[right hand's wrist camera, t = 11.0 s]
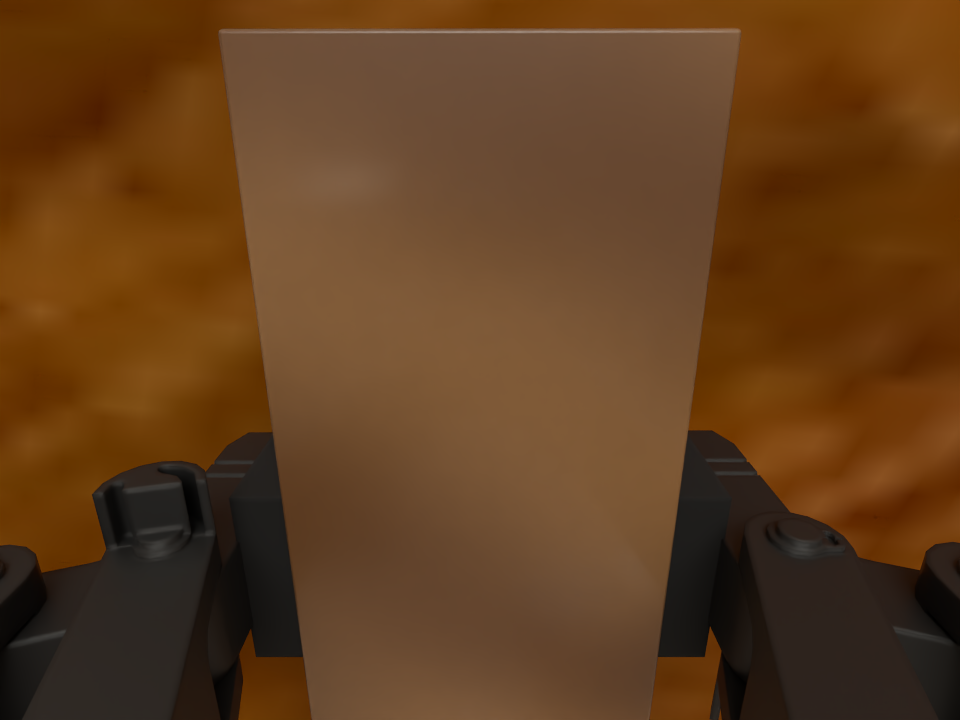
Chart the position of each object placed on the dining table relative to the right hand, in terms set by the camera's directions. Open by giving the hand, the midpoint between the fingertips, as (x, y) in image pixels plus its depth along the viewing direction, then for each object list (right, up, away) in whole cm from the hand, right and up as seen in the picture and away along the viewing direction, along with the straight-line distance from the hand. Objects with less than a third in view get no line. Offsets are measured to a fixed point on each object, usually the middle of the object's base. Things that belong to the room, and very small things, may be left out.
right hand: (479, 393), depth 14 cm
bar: (0, -20, +8) cm, 22 cm away
